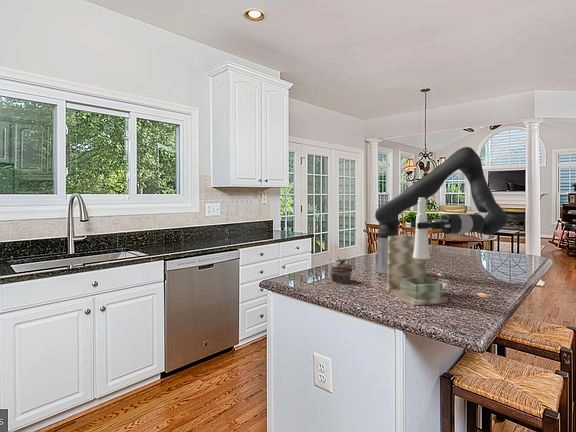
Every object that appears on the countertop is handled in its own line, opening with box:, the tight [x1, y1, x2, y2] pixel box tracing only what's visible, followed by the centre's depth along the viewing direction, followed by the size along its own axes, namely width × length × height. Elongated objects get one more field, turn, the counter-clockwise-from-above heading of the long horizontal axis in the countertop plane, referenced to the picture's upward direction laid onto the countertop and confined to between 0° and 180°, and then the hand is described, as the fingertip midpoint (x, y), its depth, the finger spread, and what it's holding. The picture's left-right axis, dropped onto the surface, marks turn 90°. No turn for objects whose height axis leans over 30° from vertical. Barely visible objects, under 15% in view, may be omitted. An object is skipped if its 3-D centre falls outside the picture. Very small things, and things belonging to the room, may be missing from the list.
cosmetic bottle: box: [413, 197, 431, 260], centre depth 130 cm, size 6×6×22 cm
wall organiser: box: [386, 234, 448, 306], centre depth 134 cm, size 16×18×22 cm
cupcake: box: [329, 258, 353, 284], centre depth 159 cm, size 10×10×10 cm
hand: (414, 225), depth 130 cm, fingers closed on cosmetic bottle, 3 cm apart
